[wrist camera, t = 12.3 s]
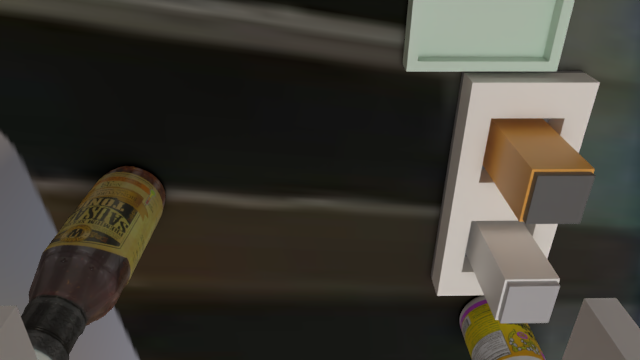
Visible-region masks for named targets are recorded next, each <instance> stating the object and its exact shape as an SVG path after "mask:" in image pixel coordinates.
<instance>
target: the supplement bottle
mask: <svg viewBox="0 0 640 360" xmlns="http://www.w3.org/2000/svg"><path fill="white" fill-rule="evenodd" d="M459 322H460V327H461V330H462V333H463V336H464V339H465V342H466V345H467V347H468V350H469V353H470V356H471V358H472V360H546V359H545V357H544V355H543V353H542V351H541V349H540V347H539V345H538V343H537V341H536V339H535V337H534V335H533V333H532V331H531V329H530V327H529V325H528V324H527V323H500V322H499V320H495V318H494V316H493V314H492V312H491V309H490V307H489V305H488V303H487V300H486V298H485V296H484V295H482V296H479V297H477V298H475V299H473V300H472V301H470V302H469V303H468V304H467V305H466V306H465V307H464V308H463V310H462V312H461V314H460V319H459Z"/></svg>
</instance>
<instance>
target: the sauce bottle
mask: <svg viewBox="0 0 640 360" xmlns="http://www.w3.org/2000/svg"><path fill="white" fill-rule="evenodd" d="M165 196H166V195H165V190H164V188H163V185H162V184H161V182H160V181H159V180H158V179H157V178H156V177H155V176H154V175H153V174H151V173H150V172H148V171H145V170H143V169H141V168H137V167H134V166H130V167H129V166H123V167H119V168H116V169H114V170H112V171H110V172H109V173H107V174H105V175H104V176H103V177H102V178H101V179H99V180H98V182H97V183H96V184H95V185H94V187H93V188H92V189H91V190H90V192H89V193H88V195H87V196H86V197H85V198H84V200H83V201H82V202H81V204H80V205H79V206H78V207H77V209H76V210H75V212H74V213H73V214H72V215H71V216H70V218H69V219H68V220H67V222H66V223H65V224H64V226H63V227H62V228H61V230H60V231H59V232H58V234H57V235H56V236H55V238H54V239H53V240H52V241H51V243H50V244H49V246H48V247H47V248H46V250H45V251H44V252H43V254H42V256H41V259H40V262H39V265H38V268H37V271H36V274H35V277H34V280H33V282H32V285H31V288H30V291H29V303H28V305H27V306H26V308H25V310H24V312H23V314H22V316H21V319H22V321H23V324H24V326H25V329H26V331H27V334H28V336H29V339H30V341H31V344H32V346H33V349H34V351H35V354H36V356H37V359H38V360H69V353H70V352H71V350H72V348H73V346H74V344H75V342H76V340H77V339H78V337H79V336H80V335H81V334H82V333H83V331H84V329H85V326H86V325H89V324H90V323H91V322H93V321H95V320H98V319H100V318H101V317H103V316H104V315H106V314H107V312H109V311H110V310H111V309H112V308H113V307H114V305H115V303H116V302H117V300H118V298H119V296H120V294H121V292H122V290H123V288H124V287H125V286H126V285H127V283H128V281H129V279H130V277H131V275H132V273H133V271H134V269H135V267H136V265H137V263H138V261H139V259H140V257H141V255H142V253H143V251H144V249H145V247H146V245H147V243H148V241H149V240H150V237H151V235H152V233H153V231H154V229H155V227H156V225H157V223H158V221H159V219H160V217H161V215H162V211H163V209H164V205H165Z"/></svg>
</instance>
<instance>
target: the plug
mask: <svg viewBox="0 0 640 360" xmlns="http://www.w3.org/2000/svg"><path fill="white" fill-rule="evenodd" d="M482 165H483V166H484V168H485V169H486V171H487V172H488V174H489V175H490V177H491V179H492V180H493V182H494V183H495V185H496V186H497V188H498V189H499V191H500V193H501V194H502V196H503V197H504V199H505V200H506V202H507V203H508V205H509V207H510V208H511V210H512V211H513V213H514V214H515V216H516V217H517V219H518V221H519V222H525V224H580V222H581V219H582V216H583V213H584V209H585V206H586V203H587V200H588V197H589V194H590V191H591V188H592V185H593V182H594V179H595V175H594V174H593V173H594V170H595V169H594V168H593V167H592V166H591V165H590V164H589V163H588V162H587V161H586V160H585V159H584V158H583V157H582V156H581V155H580V154H579V153H578V152H577V151H576V150H575V149H574V148H573V147H571V146H570V145H569V144H568V143H567V142H566V141H565V140H564V139H563V138H562V137H561V136H560V135H559V134H558V133H557V132H556V131H555V130H554V129H553V128H552V127H551V126H550V125H549V124H548V123H547V122H546V121H545V120H544V119H543V118H491V123H490V128H489V133H488V138H487V144H486V149H485V154H484V159H483V164H482Z"/></svg>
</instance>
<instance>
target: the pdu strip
mask: <svg viewBox="0 0 640 360" xmlns="http://www.w3.org/2000/svg"><path fill="white" fill-rule="evenodd" d="M599 84H600V82H598V81H597V80H595V79H594V78H592V77H591V76H589V75H588V74H586V73H585V72H583V71H462V75H461V82H460V88H459V95H458V101H457V108H456V114H455V121H454V127H453V134H452V140H451V147H450V153H449V159H448V166H447V172H446V179H445V185H444V192H443V198H442V205H441V211H440V218H439V224H438V231H437V237H436V244H435V250H434V257H433V263H432V270H431V279H432V282H433V285H434V288H435V291H436V294H437V296H463V295H484V294H483V291H482V289H481V287H480V285H479V282H478V280H477V278H476V275H475V273H474V271H473V269H472V266H471V264H470V262H469V260H468V257H467V255H466V253H465V252H466V247H467V242H468V237H469V232H470V226H471V221H518V219H517V217H516V216H515V214H514V213H513V211H512V210H511V208H510V207H509V205H508V203H507V202H506V200H505V199H504V197H503V196H502V194H501V193H500V191H499V189H498V188H497V186H496V185H495V183H494V182H493V180H492V179H491V177H490V175H489V174H488V172H487V171H486V169H485V168H484V166H483V165H482V164H483V159H484V154H485V149H486V144H487V138H488V133H489V128H490V123H491V118H543V119H544V120H545V121H546V122H547V123H548V124H549V125H550V126H551V127H552V128H553V129H554V130H555V131H556V132H557V133H558V134H559V135H560V136H561V137H562V138H563V139H564V140H565V141H566V142H567V143H568V144H569V145H570V146H571V147H573V148H574V149H575V150H576V151H577V152H578V153H579V151H580V147H581V144H582V141H583V137H584V134H585V131H586V127H587V124H588V121H589V117H590V114H591V110H592V107H593V104H594V100H595V97H596V94H597V90H598V87H599ZM523 223H524V225H525V226H526V228H527V229H528V231H529V232H530V234H531V235H532V237H533V238H534V240H535V241H536V243H537V245H538V246H539V248H540V249H541V251H542V252H543V254H544V255H545V257H546V258H548V255H549V251H550V248H551V245H552V241H553V238H554V235H555V231H556V228H557V225H558V224H525V222H523Z"/></svg>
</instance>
